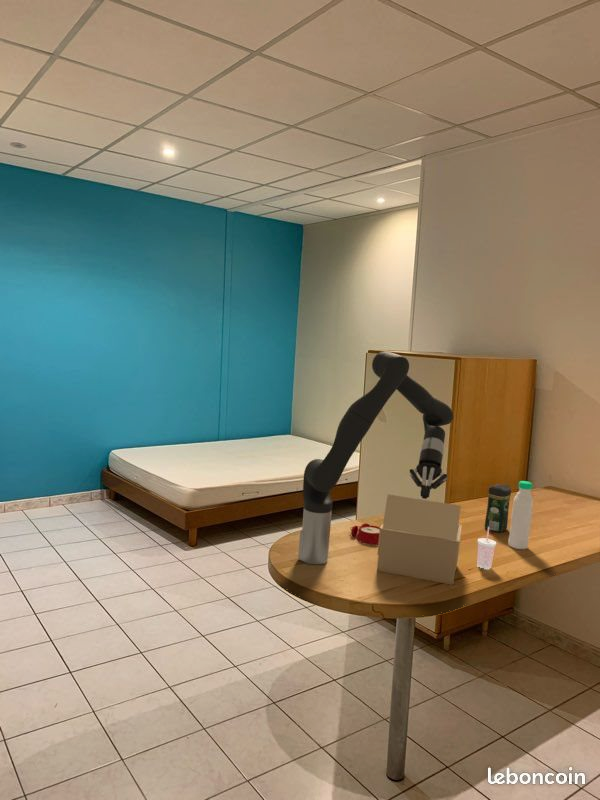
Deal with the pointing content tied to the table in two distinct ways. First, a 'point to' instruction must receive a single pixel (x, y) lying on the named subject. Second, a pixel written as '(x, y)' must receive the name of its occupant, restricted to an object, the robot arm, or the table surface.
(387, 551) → the carton
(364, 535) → the alarm clock
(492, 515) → the coffee jar
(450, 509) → the carton flap
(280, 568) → the table surface
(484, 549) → the beverage cup
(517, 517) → the water bottle
